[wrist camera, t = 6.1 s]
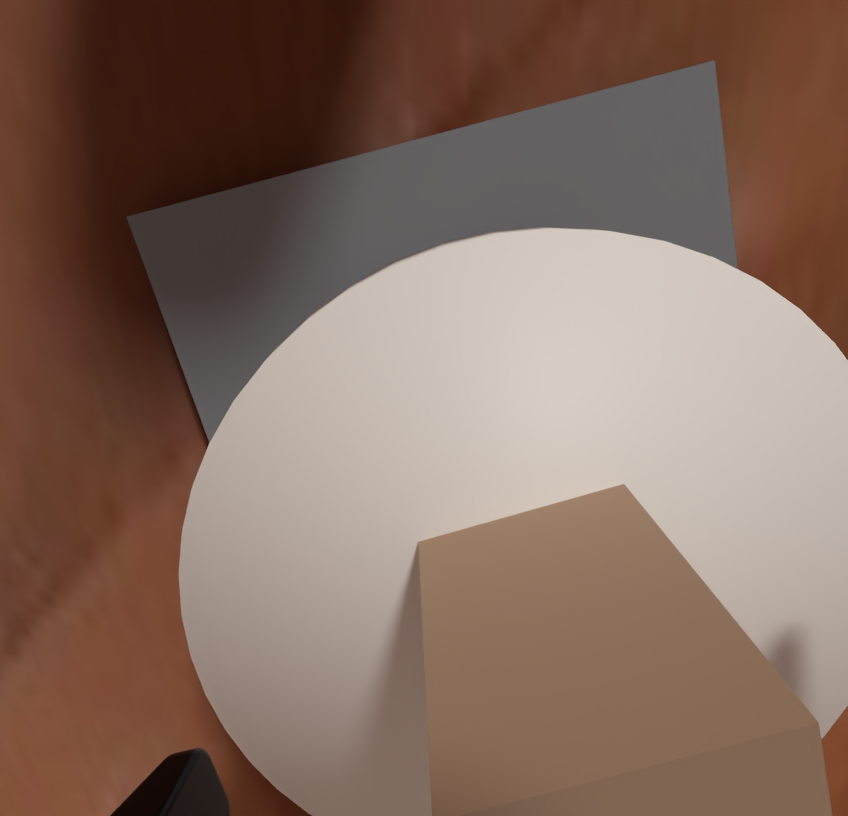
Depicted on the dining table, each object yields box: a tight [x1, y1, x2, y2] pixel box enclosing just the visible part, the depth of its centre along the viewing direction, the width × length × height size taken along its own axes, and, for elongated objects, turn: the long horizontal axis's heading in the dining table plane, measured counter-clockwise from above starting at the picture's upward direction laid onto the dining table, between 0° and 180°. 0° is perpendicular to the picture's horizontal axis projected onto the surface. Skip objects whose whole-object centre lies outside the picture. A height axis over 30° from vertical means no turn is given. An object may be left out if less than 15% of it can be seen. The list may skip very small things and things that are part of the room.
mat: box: [127, 60, 738, 443], centre depth 15 cm, size 12×14×1 cm
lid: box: [179, 227, 848, 816], centre depth 8 cm, size 11×11×6 cm
